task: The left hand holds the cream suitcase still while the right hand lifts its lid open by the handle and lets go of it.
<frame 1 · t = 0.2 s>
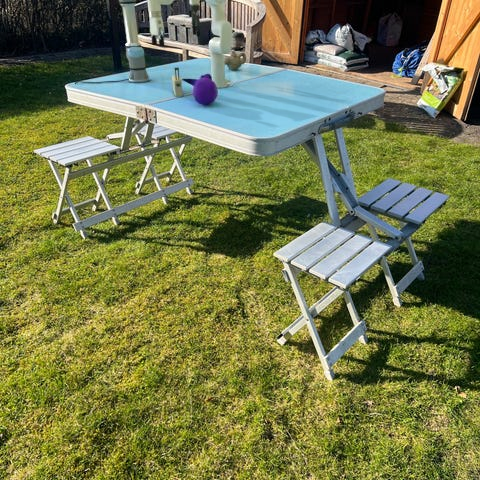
left hand: (196, 35, 349), 28 cm above the table, tool pointing down, fingers open, 13 cm apart
right hand: (158, 45, 279), 31 cm above the table, tool pointing down, fingers open, 9 cm apart
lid: (176, 72, 293), point 13 cm above the table, hinge at 0.0°
toy: (202, 102, 277), on the table
teapot: (234, 70, 372), on the table
cream suitcase: (177, 93, 300), on the table
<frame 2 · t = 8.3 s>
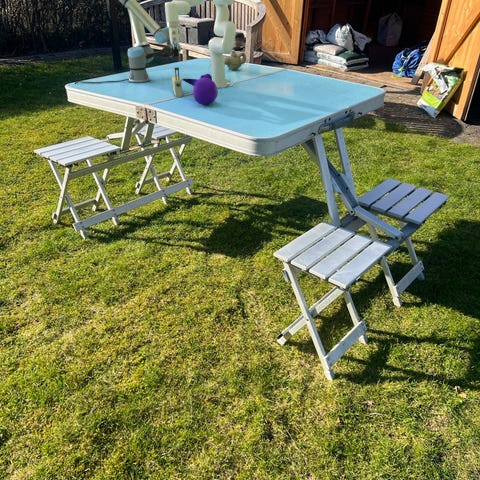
left hand: (154, 56, 310), 20 cm above the table, tool horizontal, fingers open, 13 cm apart
right hand: (175, 55, 281), 25 cm above the table, tool pointing down, fingers open, 9 cm apart
nothing on the table moved.
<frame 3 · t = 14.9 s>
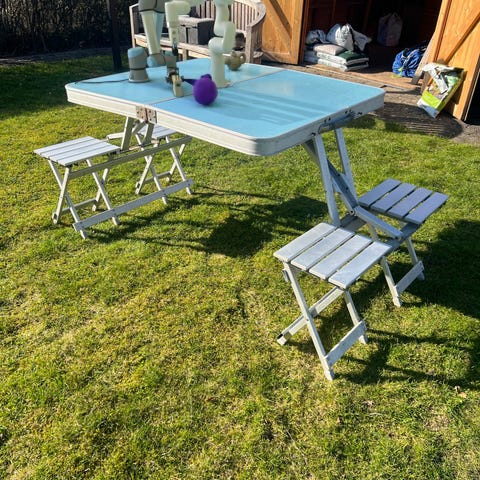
left hand: (176, 82, 300), 6 cm above the table, tool horizontal, fingers closed on cream suitcase, 5 cm apart
right hand: (175, 55, 281), 25 cm above the table, tool pointing down, fingers open, 9 cm apart
cream suitcase: (177, 93, 300), on the table, touching left hand
everything else where it was.
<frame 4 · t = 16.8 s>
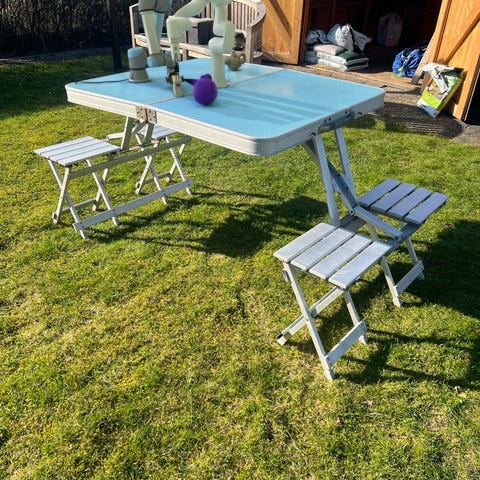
left hand: (176, 82, 301), 6 cm above the table, tool horizontal, fingers closed on cream suitcase, 5 cm apart
right hand: (176, 71, 286), 15 cm above the table, tool pointing down, fingers closed
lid: (176, 72, 293), point 14 cm above the table, hinge at 0.1°, touching right hand
cream suitcase: (177, 93, 300), on the table, touching left hand
everything else where it was.
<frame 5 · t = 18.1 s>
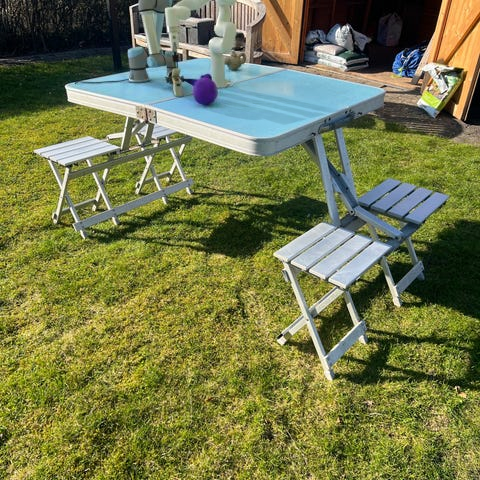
left hand: (176, 82, 301), 6 cm above the table, tool horizontal, fingers closed on cream suitcase, 5 cm apart
right hand: (175, 61, 287), 21 cm above the table, tool pointing down, fingers closed on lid
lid: (175, 67, 293), point 17 cm above the table, hinge at 22.1°, touching right hand
cream suitcase: (178, 93, 300), on the table, touching left hand
everything else where it was.
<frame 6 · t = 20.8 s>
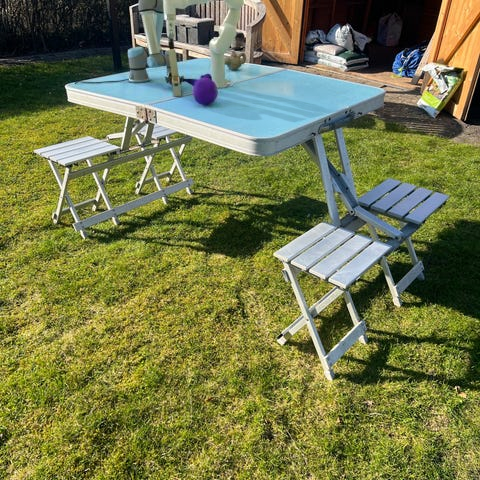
left hand: (176, 82, 301), 6 cm above the table, tool horizontal, fingers closed on cream suitcase, 5 cm apart
right hand: (171, 48, 296), 27 cm above the table, tool pointing down, fingers open, 3 cm apart
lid: (173, 60, 299), point 19 cm above the table, hinge at 71.7°, touching right hand
cream suitcase: (177, 93, 300), on the table, touching left hand
everything else where it was.
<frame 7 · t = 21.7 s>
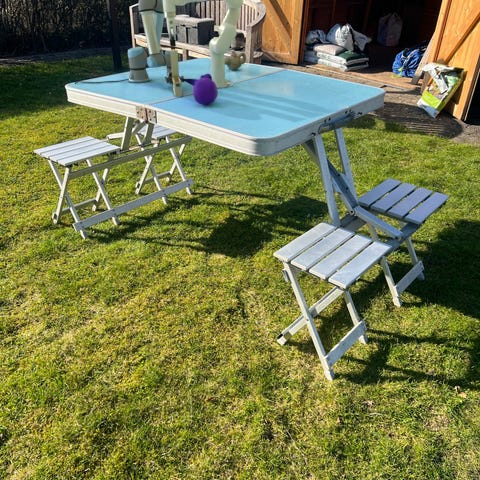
left hand: (176, 82, 301), 6 cm above the table, tool horizontal, fingers closed on cream suitcase, 5 cm apart
right hand: (172, 45, 294), 29 cm above the table, tool pointing down, fingers open, 5 cm apart
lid: (174, 60, 298), point 19 cm above the table, hinge at 69.4°
cream suitcase: (177, 93, 300), on the table, touching left hand
everything else where it was.
when the left hand's fingers open (6 cm above the table, at t = 24.4 s): cream suitcase stays where it is, on the table.
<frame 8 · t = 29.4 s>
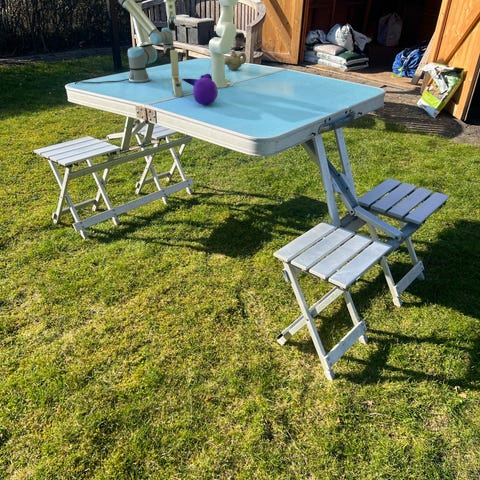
left hand: (172, 57, 307), 20 cm above the table, tool horizontal, fingers open, 13 cm apart
right hand: (172, 29, 282), 39 cm above the table, tool pointing down, fingers open, 9 cm apart
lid: (174, 60, 298), point 19 cm above the table, hinge at 69.1°
cream suitcase: (177, 93, 300), on the table
everything else where it was.
at the end: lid at +69° (first picture: +0°); the left hand is holding nothing; the right hand is holding nothing; cream suitcase tilted 0°; cream suitcase never tilted more than 4° during the clip; cream suitcase moved 0.1 cm from its start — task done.
